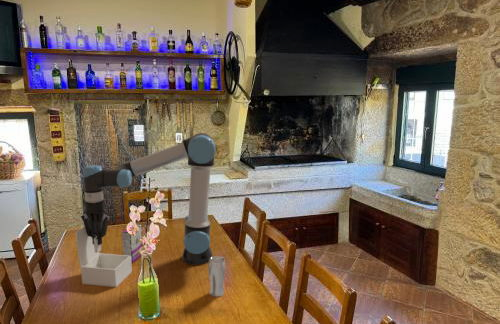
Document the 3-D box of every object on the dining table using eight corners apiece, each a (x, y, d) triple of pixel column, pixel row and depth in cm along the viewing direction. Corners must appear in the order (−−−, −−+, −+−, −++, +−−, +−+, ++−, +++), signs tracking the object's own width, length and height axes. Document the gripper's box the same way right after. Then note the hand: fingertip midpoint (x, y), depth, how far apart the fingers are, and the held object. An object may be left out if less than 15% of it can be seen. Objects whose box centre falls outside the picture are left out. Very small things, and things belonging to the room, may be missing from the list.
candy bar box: (134, 253, 183) (133, 223, 180) (143, 254, 182) (141, 224, 179) (123, 263, 172) (121, 231, 169) (132, 264, 171) (130, 232, 168)
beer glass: (206, 291, 147) (205, 257, 145) (221, 287, 151) (220, 254, 148) (212, 299, 141) (212, 264, 139) (228, 294, 145) (228, 261, 142)
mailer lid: (95, 221, 162) (94, 221, 162) (76, 232, 148) (74, 231, 148) (99, 253, 165) (98, 252, 165) (80, 266, 151) (79, 266, 151)
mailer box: (131, 271, 163) (131, 255, 162) (116, 287, 150) (115, 269, 148) (100, 268, 166) (99, 253, 165) (82, 283, 152) (80, 266, 151)
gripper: (75, 202, 150) (79, 253, 154) (103, 203, 148) (106, 255, 152) (86, 197, 157) (89, 246, 161) (112, 198, 155) (115, 248, 159)
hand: (97, 251), depth 156 cm, fingers closed
